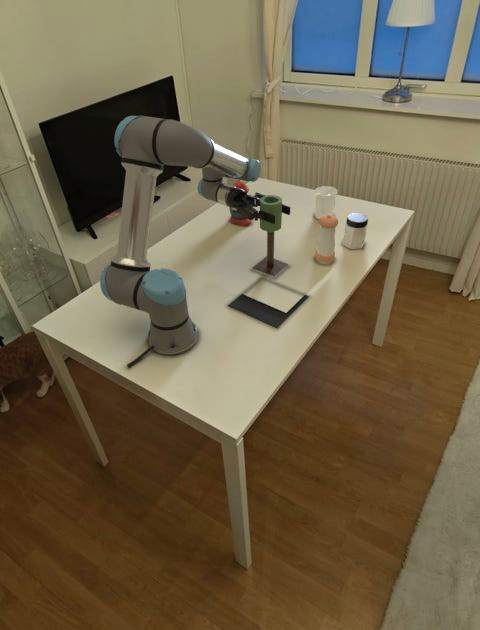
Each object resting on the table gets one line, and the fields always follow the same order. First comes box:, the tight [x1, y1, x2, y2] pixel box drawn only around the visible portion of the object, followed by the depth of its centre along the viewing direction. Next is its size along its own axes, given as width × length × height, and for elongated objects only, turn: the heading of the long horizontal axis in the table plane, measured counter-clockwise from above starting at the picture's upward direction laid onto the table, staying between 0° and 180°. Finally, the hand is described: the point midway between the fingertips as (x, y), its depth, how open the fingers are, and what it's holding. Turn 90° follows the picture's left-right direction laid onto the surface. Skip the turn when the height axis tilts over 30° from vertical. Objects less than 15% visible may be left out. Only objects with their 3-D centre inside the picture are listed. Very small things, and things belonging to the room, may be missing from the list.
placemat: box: [228, 293, 309, 329], centre depth 150 cm, size 20×20×1 cm
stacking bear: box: [228, 179, 252, 227], centre depth 190 cm, size 11×10×18 cm
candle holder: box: [314, 185, 338, 220], centre depth 193 cm, size 10×10×12 cm
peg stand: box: [252, 231, 289, 277], centre depth 160 cm, size 10×10×16 cm
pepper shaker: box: [314, 214, 339, 263], centre depth 163 cm, size 7×7×19 cm
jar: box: [342, 212, 369, 250], centre depth 173 cm, size 9×8×12 cm
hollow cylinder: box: [259, 194, 283, 233], centre depth 148 cm, size 7×7×10 cm
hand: (282, 215), depth 145 cm, fingers closed on hollow cylinder, 7 cm apart
